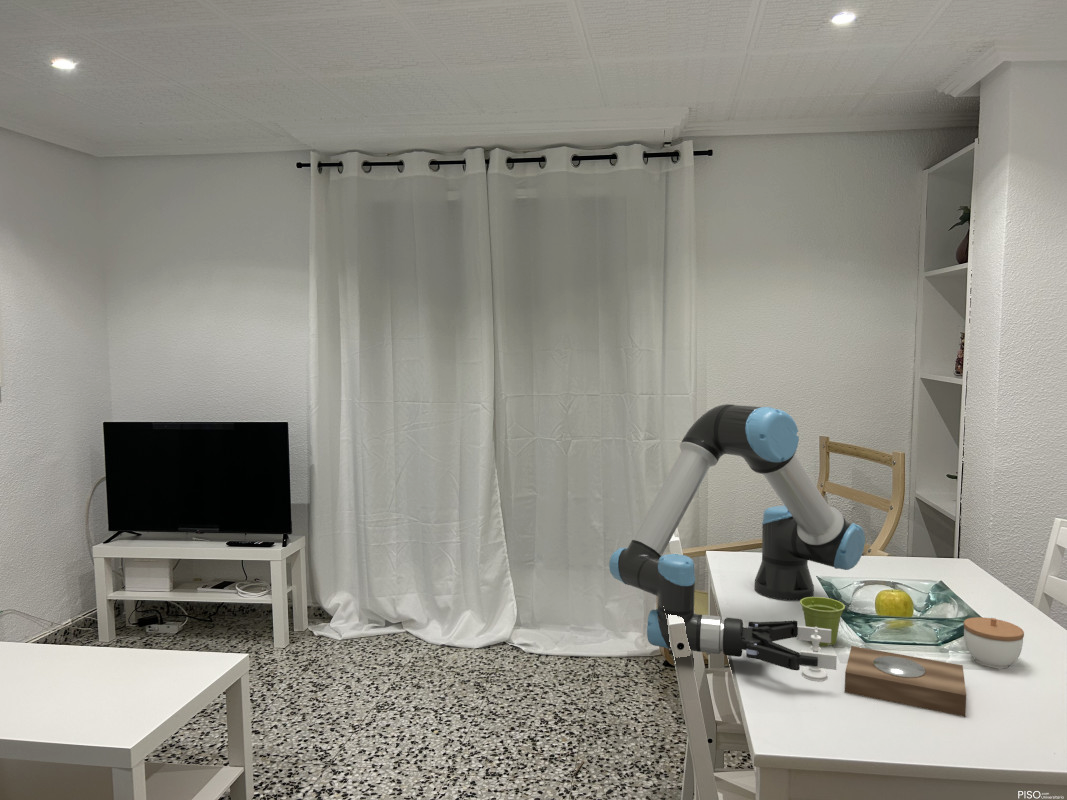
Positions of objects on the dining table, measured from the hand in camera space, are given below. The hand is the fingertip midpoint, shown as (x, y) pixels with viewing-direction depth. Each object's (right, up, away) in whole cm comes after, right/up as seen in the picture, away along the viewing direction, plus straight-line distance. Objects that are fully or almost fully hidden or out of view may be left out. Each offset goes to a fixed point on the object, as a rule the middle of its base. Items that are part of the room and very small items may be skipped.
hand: (833, 648), depth 148 cm
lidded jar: (+36, -6, +8) cm, 37 cm away
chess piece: (-3, -6, +2) cm, 7 cm away
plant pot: (+5, -5, +19) cm, 20 cm away
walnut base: (+12, -6, -4) cm, 14 cm away
